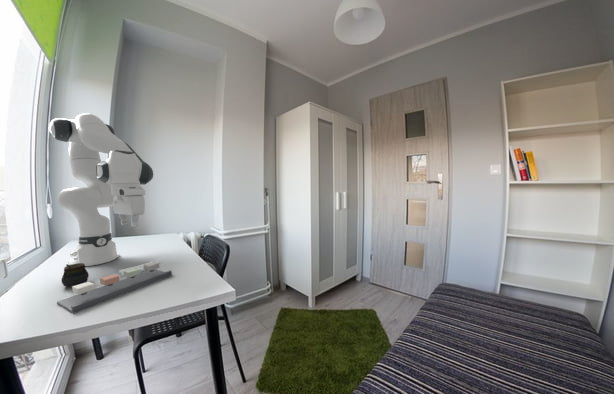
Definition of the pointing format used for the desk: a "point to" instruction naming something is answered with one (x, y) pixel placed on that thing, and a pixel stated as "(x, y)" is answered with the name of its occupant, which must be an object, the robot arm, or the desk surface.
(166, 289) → the desk surface
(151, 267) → the key
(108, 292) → the base
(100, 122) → the robot arm
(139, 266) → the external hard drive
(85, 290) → the key
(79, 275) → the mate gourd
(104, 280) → the key
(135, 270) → the key
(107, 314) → the desk surface
